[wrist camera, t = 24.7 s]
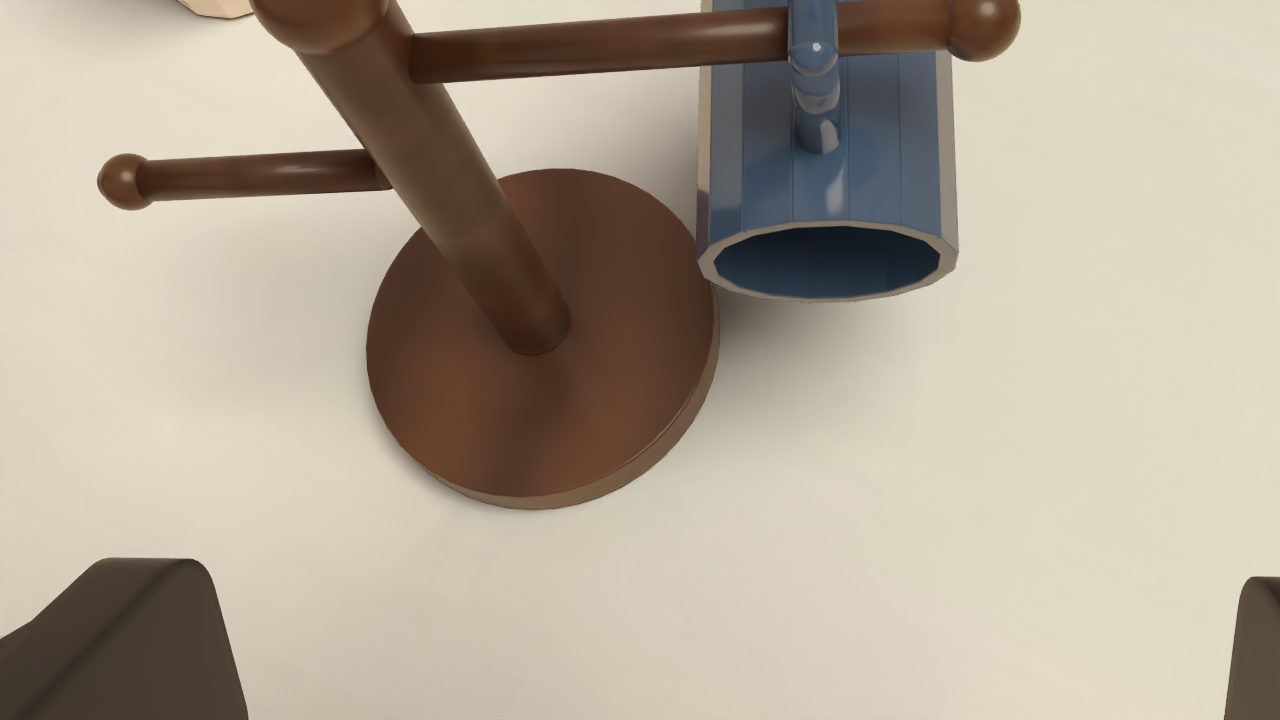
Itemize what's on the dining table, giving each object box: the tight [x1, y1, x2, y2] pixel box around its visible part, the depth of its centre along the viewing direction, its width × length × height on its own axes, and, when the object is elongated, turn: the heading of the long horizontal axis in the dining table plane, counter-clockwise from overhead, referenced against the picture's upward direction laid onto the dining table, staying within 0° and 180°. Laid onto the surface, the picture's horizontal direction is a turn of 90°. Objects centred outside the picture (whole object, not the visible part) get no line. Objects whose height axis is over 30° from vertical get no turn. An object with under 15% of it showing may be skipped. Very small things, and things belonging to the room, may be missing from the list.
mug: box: [696, 0, 959, 303], centre depth 26 cm, size 10×6×10 cm
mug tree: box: [97, 0, 1021, 510], centre depth 28 cm, size 22×11×18 cm, turn 87°
